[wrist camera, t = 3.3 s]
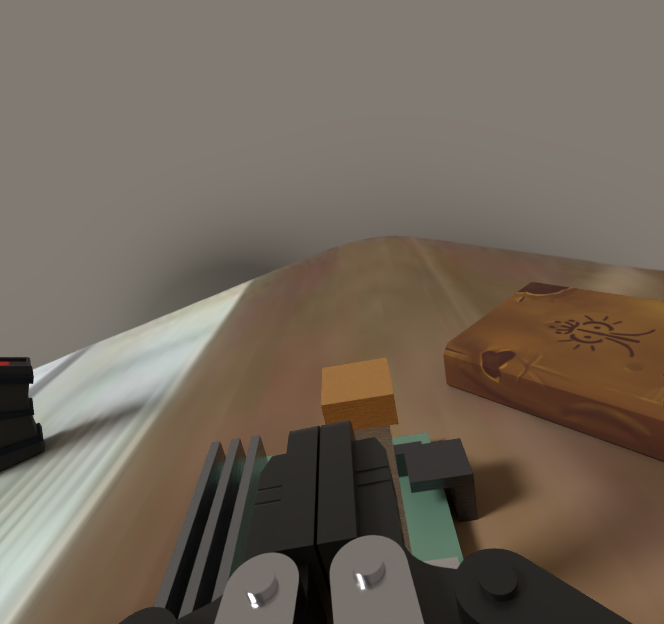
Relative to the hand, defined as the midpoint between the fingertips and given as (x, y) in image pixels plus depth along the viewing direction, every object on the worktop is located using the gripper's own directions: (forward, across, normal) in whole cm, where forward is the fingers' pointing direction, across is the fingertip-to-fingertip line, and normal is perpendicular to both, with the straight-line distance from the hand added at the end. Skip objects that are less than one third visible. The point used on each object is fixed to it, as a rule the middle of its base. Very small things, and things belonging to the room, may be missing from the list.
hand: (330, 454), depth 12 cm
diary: (+34, +23, -23) cm, 47 cm away
